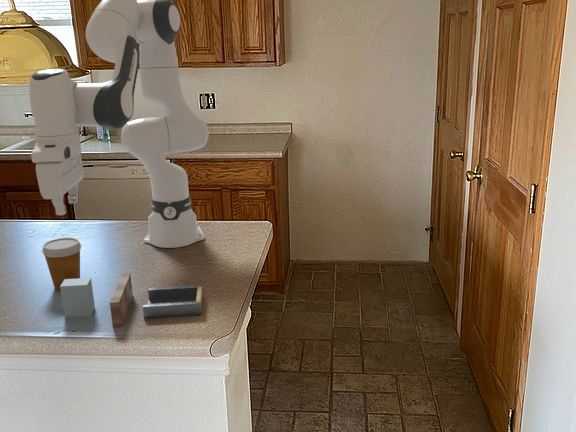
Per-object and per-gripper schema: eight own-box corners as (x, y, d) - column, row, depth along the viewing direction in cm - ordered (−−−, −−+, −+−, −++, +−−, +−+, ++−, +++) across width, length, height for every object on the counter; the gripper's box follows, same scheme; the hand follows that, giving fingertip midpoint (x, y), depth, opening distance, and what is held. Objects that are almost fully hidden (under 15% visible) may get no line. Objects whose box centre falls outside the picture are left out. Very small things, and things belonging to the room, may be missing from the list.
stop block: (69, 310, 137) (64, 279, 135) (95, 308, 138) (90, 277, 135) (64, 317, 133) (60, 286, 131) (91, 316, 134) (87, 284, 132)
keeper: (149, 299, 142) (148, 288, 141) (202, 296, 143) (201, 285, 142) (144, 318, 132) (142, 306, 131) (200, 315, 133) (200, 303, 132)
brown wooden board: (124, 295, 144) (122, 273, 142) (132, 295, 144) (130, 273, 142) (112, 326, 129) (109, 302, 127) (121, 326, 129) (118, 302, 127)
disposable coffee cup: (89, 277, 155) (83, 235, 152) (83, 292, 146) (77, 248, 143) (52, 280, 154) (45, 238, 150) (44, 295, 145) (36, 251, 141)
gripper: (58, 140, 134) (66, 197, 138) (27, 156, 114) (38, 222, 118) (86, 138, 134) (93, 196, 138) (60, 154, 115) (69, 220, 119)
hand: (67, 208), depth 128 cm, fingers open, 8 cm apart
